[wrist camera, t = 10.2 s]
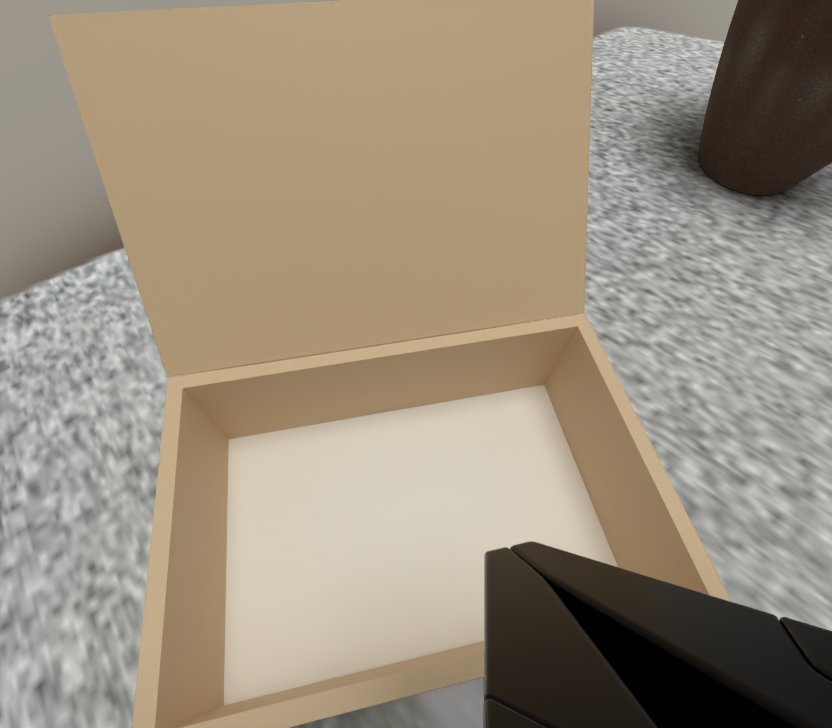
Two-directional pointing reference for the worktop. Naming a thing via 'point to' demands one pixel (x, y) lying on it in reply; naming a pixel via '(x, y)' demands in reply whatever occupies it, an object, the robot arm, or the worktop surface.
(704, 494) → the worktop surface
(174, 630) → the mailer box
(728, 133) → the plant pot
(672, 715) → the robot arm
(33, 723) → the worktop surface
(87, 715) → the worktop surface
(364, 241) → the mailer lid
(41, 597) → the worktop surface
